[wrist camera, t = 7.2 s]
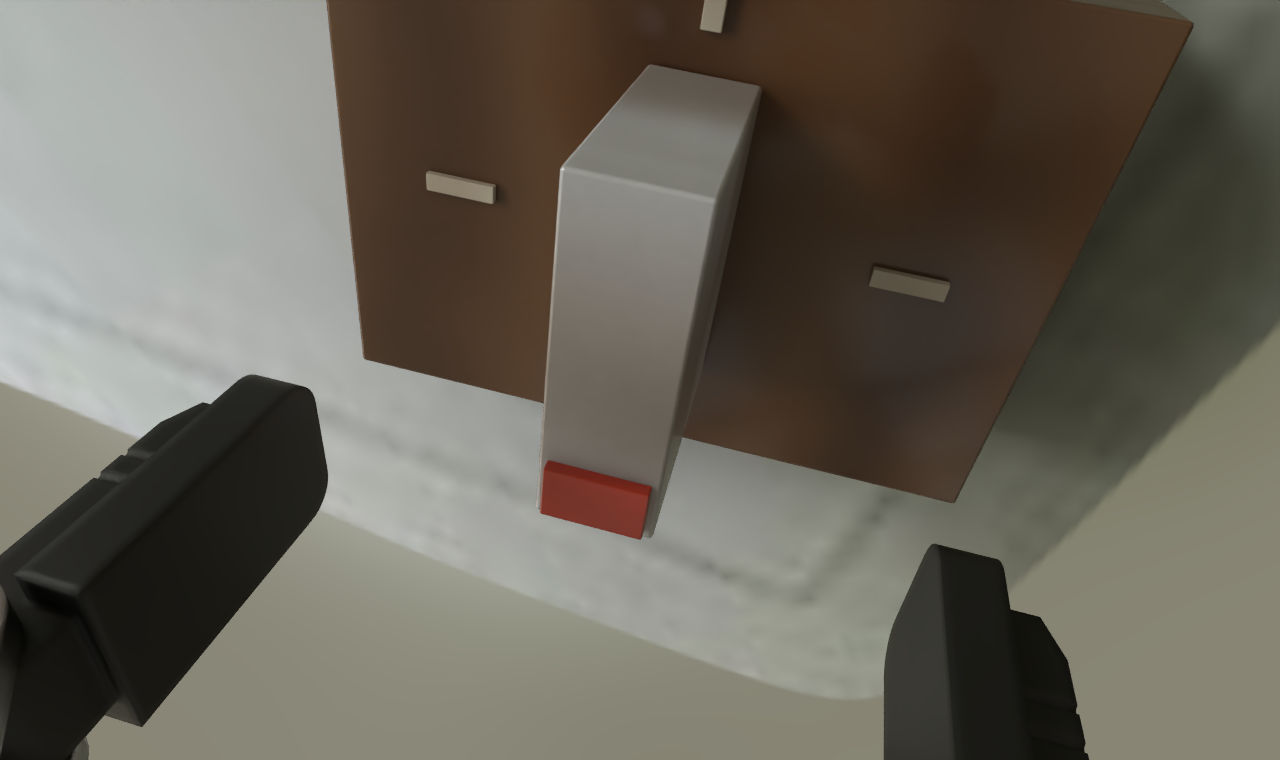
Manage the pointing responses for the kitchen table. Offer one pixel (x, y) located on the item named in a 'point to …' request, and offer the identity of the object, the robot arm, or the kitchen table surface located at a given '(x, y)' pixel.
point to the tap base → (758, 197)
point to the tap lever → (637, 292)
